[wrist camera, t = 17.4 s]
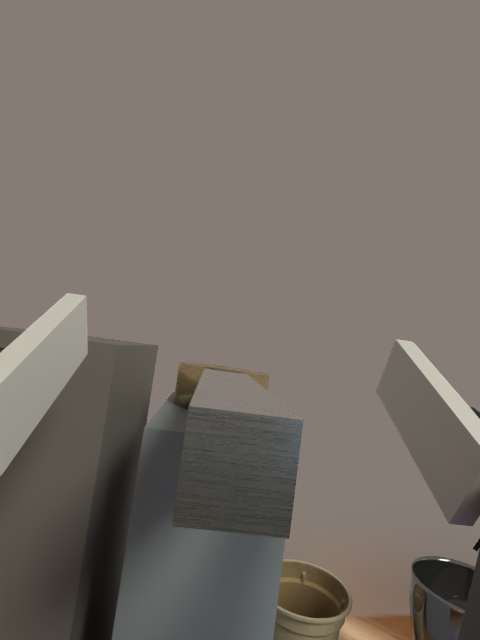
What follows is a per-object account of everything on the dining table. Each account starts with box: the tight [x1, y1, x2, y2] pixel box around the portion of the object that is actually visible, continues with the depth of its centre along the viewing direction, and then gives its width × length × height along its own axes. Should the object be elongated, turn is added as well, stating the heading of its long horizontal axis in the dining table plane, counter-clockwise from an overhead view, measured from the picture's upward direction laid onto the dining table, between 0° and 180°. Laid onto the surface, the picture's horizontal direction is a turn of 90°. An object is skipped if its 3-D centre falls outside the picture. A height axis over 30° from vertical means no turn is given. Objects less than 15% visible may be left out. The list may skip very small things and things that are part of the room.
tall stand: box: [0, 327, 158, 640], centre depth 25 cm, size 9×15×30 cm, turn 5°
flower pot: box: [273, 559, 352, 640], centre depth 36 cm, size 9×9×9 cm
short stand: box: [112, 392, 285, 640], centre depth 26 cm, size 8×15×26 cm, turn 5°
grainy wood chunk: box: [172, 363, 303, 539], centre depth 21 cm, size 7×23×3 cm, turn 4°
